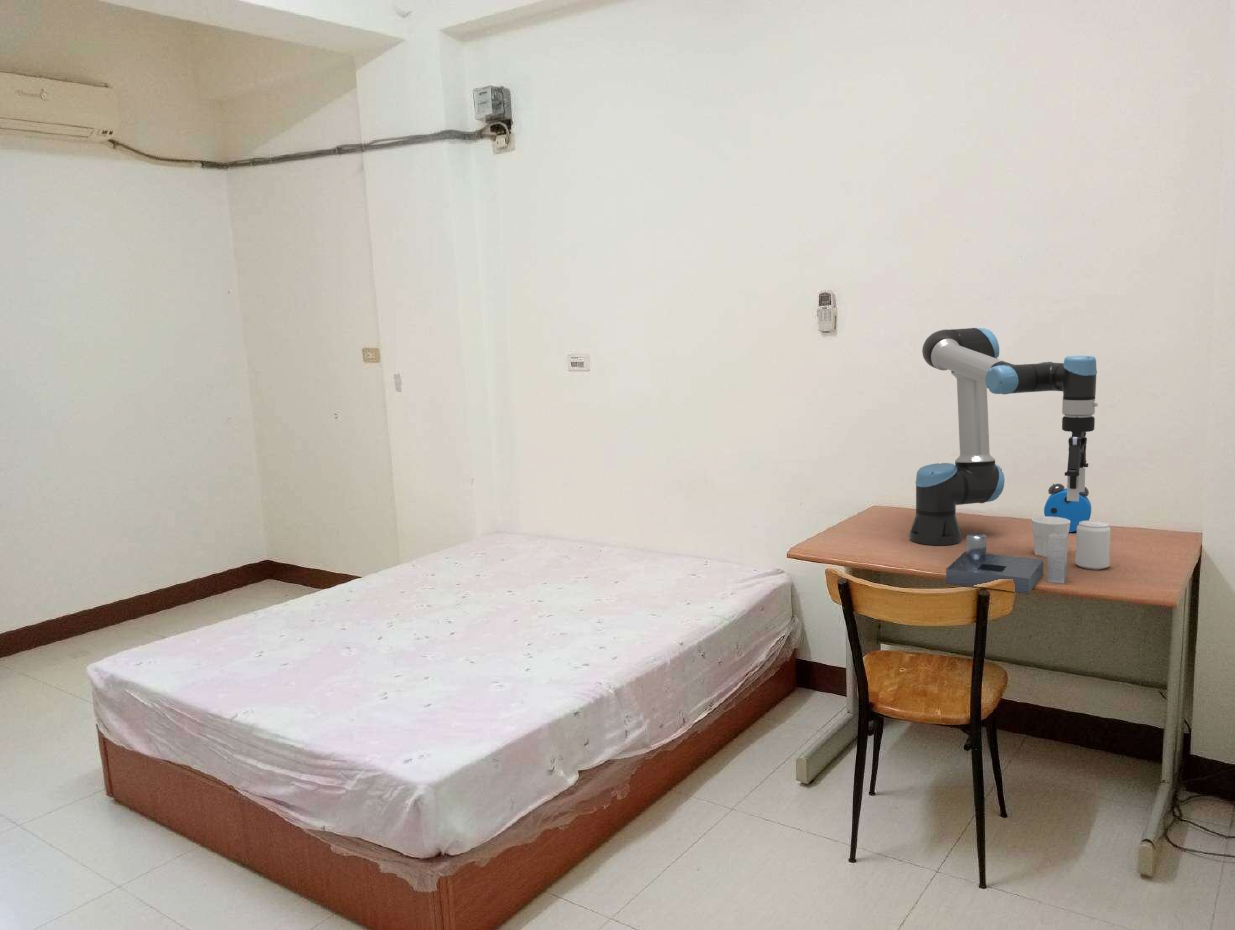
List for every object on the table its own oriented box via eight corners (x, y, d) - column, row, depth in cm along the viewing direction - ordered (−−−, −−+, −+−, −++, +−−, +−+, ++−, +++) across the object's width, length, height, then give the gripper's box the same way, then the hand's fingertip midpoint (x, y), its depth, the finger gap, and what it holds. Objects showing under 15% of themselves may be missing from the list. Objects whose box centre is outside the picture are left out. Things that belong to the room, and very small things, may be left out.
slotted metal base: (945, 583, 236) (946, 546, 234) (965, 565, 252) (965, 530, 251) (1028, 594, 225) (1029, 555, 223) (1043, 573, 241) (1044, 537, 239)
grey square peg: (1046, 581, 234) (1048, 536, 232) (1049, 577, 237) (1051, 533, 235) (1063, 583, 232) (1065, 538, 230) (1066, 579, 235) (1067, 534, 233)
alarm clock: (1090, 530, 285) (1092, 483, 282) (1089, 534, 279) (1091, 487, 277) (1044, 527, 291) (1046, 481, 289) (1043, 531, 286) (1044, 484, 283)
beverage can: (1069, 563, 250) (1070, 521, 248) (1097, 561, 250) (1099, 519, 248) (1086, 571, 242) (1088, 527, 240) (1115, 569, 242) (1117, 525, 240)
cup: (1022, 552, 263) (1023, 519, 261) (1047, 547, 266) (1049, 515, 265) (1051, 560, 253) (1052, 525, 252) (1077, 555, 257) (1078, 521, 256)
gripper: (1089, 421, 222) (1086, 505, 225) (1099, 411, 243) (1096, 488, 246) (1056, 420, 226) (1053, 503, 229) (1068, 410, 247) (1065, 487, 250)
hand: (1075, 496), depth 237 cm, fingers open, 13 cm apart
